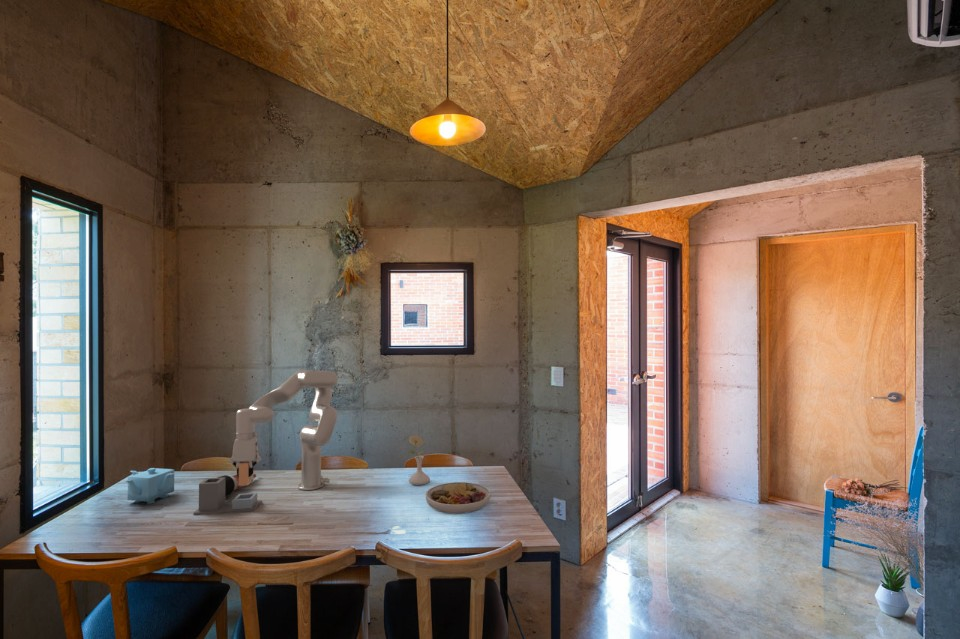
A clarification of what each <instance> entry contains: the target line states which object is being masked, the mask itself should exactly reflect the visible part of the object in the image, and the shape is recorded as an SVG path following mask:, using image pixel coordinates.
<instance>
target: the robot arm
mask: <svg viewBox="0 0 960 639" xmlns="http://www.w3.org/2000/svg"><path fill="white" fill-rule="evenodd" d="M338 379H339V378H338V375H337V374H336V373H335V372H333V371H330V370H329V371H328V370H311V369H309V370H308V369H299V370H297V371H295V372H294V373H293V374H292V375H291V376H289V378H287V379H286V380H285V381H284V382H283V383H282V384H280V385H279V386H278V387H277V388H275V389H273V390H270V392H267V393H266V394H264V395H261V397H259V398H258V399H257V400H256V401H255V402H254V403H253V404H251V405H250V406H249V407H248V408H241V409H237V411H236V419H235V420H236V421H235V423H236V425H235V426H236V427H235V428H236V431H235V432H236V433H235V434H236V437H235V439H234V442H233V448H232V456H231V457H230V458H229V460H228V463H230V464H231V465H232V466H234V467H235V469H236V475H238V477H239V463H240V462H246V461H249V466H250V467H249V477H251V476H252V474H254V466H256V465H257V464H258V463H260V461H262V457H261V456H260V454H259V446H258V445H259V444H258V439H257V437H258V435H259V433H257V432H256V430H255V428H256V426H255V425H256V424H267V423H270V422H271V421H272V420H273V419H274V416H275V412H274V410H273V409H272V408H273V407H275V406H276V405H279V404H282V403H287V402H289V401H290V400H292V399H293V398H294V397H295V396H296V395H297V394H299V392H301V391H302V390H303V389H304V388H312V389H313V388H314V389H315V390H314V391H315V393H314V394H315V395H314V398H313V402H312V405H311V408H310V411H309V415H308V417H309V418H308V419H309V420H310V421H311V422H313V423H316V424H317V425H315V424H307V425H304V426H303V427H302V428H301V430H300V431H299V441H300V447H301V448H300V449H301V477H300V478H301V482H300V483H299V484H298V487H297V488H298V489H299V490H301V491H312V490H317V489H321V488H322V487H324V486H325V483H328V484H329V483H330V480H331V479H330V478H329V477H323V475H322V448H321V447H324V446H326V445H328V443H329V442H330V441H331V438H332V436H333V432H334V429H335V426H336V423H337V419H338V413H337V412H338V411H337V409H336V408H335V407H334V406H331V402H332V397H333V392H332V391H333V390H332V388H333V387H335V386H336V385H337V383H338V381H339V380H338Z"/></svg>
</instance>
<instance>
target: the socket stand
mask: <svg viewBox="0 0 960 639" xmlns="http://www.w3.org/2000/svg"><path fill="white" fill-rule="evenodd" d="M262 502H263V500H262V499H260V500H259V499H258V492H253V493H251V492H249V493H238V494H237V495H236V496H235V498H233V499H232V501H227V502H226V497H225V477H222V478H217V477H207V478H205V479H204V480H202V481H201V482H200V483H198V508H197V509H196V510H195V511H194V512H193V513H192V514H193V516H201V515H202V516H203V515H217V514H232V513H233V514H235V513H247V512H248V513H249V512H255V511H256V510H257V508H259V507H260V505H261V504H262Z"/></svg>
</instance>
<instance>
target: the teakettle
mask: <svg viewBox="0 0 960 639" xmlns="http://www.w3.org/2000/svg"><path fill="white" fill-rule="evenodd" d="M130 473H131V474H132V475H130V476H128V477H127V479H126V480H124V483H127V501H134V503H136V504H137V503H142V502H146V504H147V505H148V504H149V505H150V504H154V503H155V500H156V499H159V498H160V499H165V498H169V496H168V494H171V493H174V492H175V469H172V468H158V467H157V468H156V467H150V468H148V469H147V470H144V471H141V472H139V473H138V471H137V470H130Z"/></svg>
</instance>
